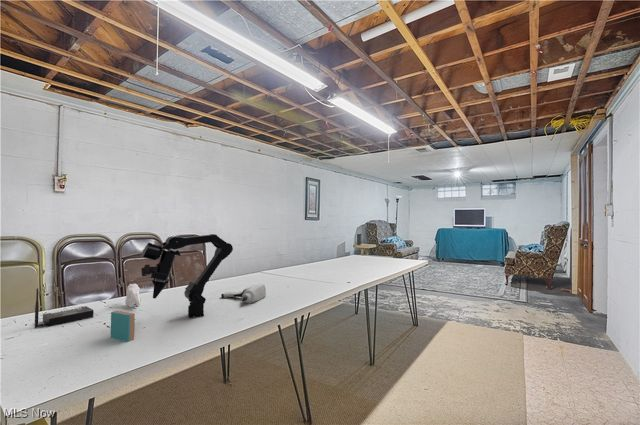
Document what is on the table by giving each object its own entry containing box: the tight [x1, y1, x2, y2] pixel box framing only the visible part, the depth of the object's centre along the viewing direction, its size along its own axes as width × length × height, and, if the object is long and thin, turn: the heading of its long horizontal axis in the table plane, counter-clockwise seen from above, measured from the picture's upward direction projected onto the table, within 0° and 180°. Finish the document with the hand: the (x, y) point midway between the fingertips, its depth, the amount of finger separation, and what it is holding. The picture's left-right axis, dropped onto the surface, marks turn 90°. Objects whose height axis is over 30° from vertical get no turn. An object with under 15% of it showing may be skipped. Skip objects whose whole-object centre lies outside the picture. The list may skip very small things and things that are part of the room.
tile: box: [110, 310, 136, 343], centre depth 118 cm, size 2×10×10 cm, turn 68°
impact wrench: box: [220, 283, 267, 304], centre depth 175 cm, size 8×23×25 cm
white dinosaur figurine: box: [124, 282, 142, 308], centre depth 161 cm, size 7×24×11 cm, turn 44°
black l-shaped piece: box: [34, 288, 94, 329], centre depth 138 cm, size 20×14×17 cm
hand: (154, 298), depth 131 cm, fingers closed
